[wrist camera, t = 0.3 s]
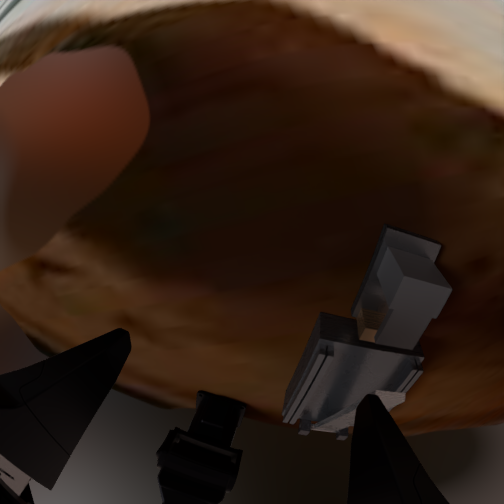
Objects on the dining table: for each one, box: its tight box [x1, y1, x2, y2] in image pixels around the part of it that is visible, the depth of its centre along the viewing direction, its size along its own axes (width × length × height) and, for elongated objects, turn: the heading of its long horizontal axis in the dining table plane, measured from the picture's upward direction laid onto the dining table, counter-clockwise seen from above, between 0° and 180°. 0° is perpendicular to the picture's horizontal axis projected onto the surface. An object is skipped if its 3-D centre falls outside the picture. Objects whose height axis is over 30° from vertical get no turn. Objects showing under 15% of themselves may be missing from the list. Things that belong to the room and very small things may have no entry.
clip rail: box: [351, 224, 441, 317], centre depth 20 cm, size 8×5×1 cm, turn 170°
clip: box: [374, 246, 452, 350], centre depth 18 cm, size 5×4×4 cm
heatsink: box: [282, 308, 425, 440], centre depth 23 cm, size 15×10×5 cm, turn 170°
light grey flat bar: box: [314, 390, 405, 431], centre depth 19 cm, size 14×2×1 cm, turn 170°
